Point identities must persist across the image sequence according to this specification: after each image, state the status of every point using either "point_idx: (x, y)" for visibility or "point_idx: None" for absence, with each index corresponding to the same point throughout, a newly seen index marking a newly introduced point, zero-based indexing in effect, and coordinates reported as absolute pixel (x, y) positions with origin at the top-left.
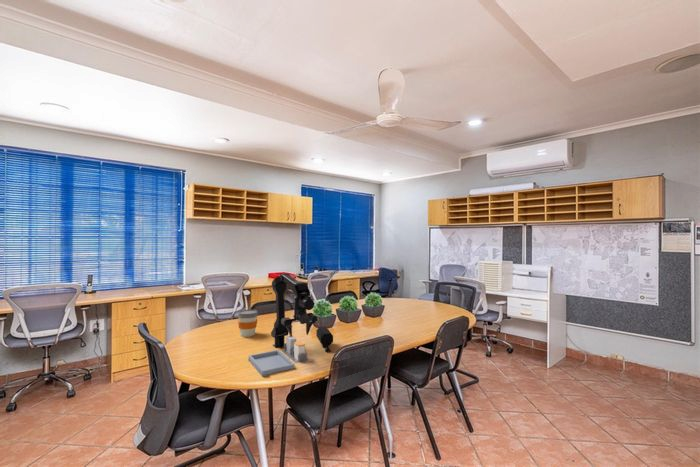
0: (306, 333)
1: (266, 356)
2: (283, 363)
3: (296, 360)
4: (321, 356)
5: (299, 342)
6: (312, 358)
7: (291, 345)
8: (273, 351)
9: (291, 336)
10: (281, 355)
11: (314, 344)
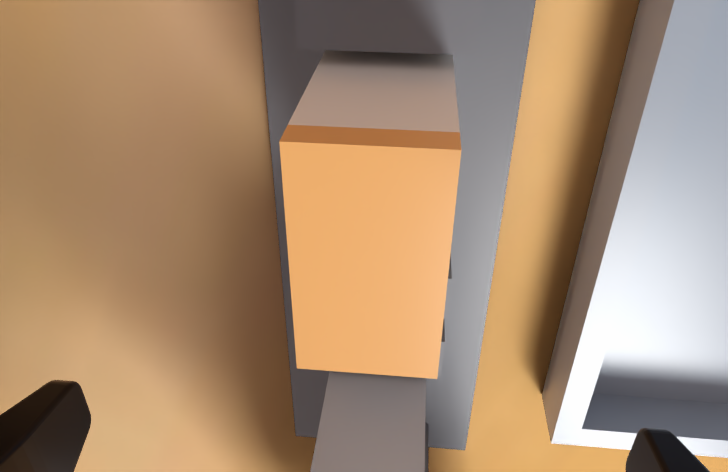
0: (81, 444)
1: (723, 396)
2: (724, 62)
3: (468, 68)
4: (23, 34)
5: (342, 309)
6: (185, 38)
7: (406, 407)
8: (632, 431)
9: (674, 452)
10: (620, 285)
11: None
